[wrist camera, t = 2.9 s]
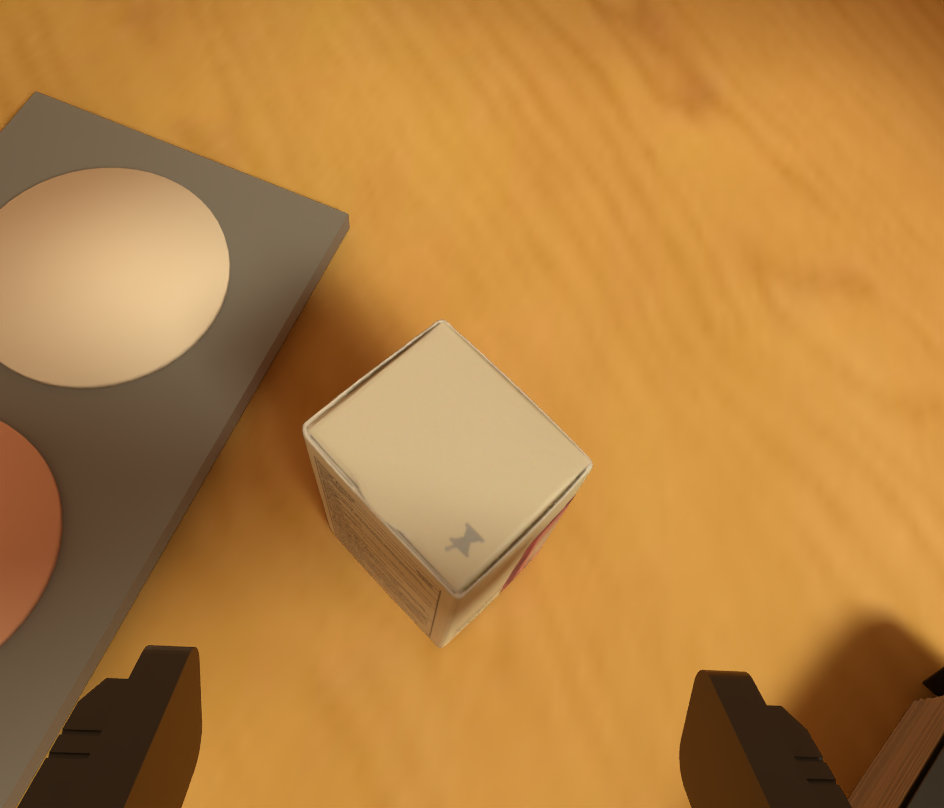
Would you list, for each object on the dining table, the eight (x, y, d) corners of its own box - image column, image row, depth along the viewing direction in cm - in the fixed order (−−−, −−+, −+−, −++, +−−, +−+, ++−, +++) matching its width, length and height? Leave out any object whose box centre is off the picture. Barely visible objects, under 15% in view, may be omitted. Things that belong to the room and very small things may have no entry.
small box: (543, 551, 25) (606, 464, 17) (438, 654, 23) (460, 605, 16) (428, 435, 26) (443, 308, 19) (322, 525, 24) (293, 426, 17)
